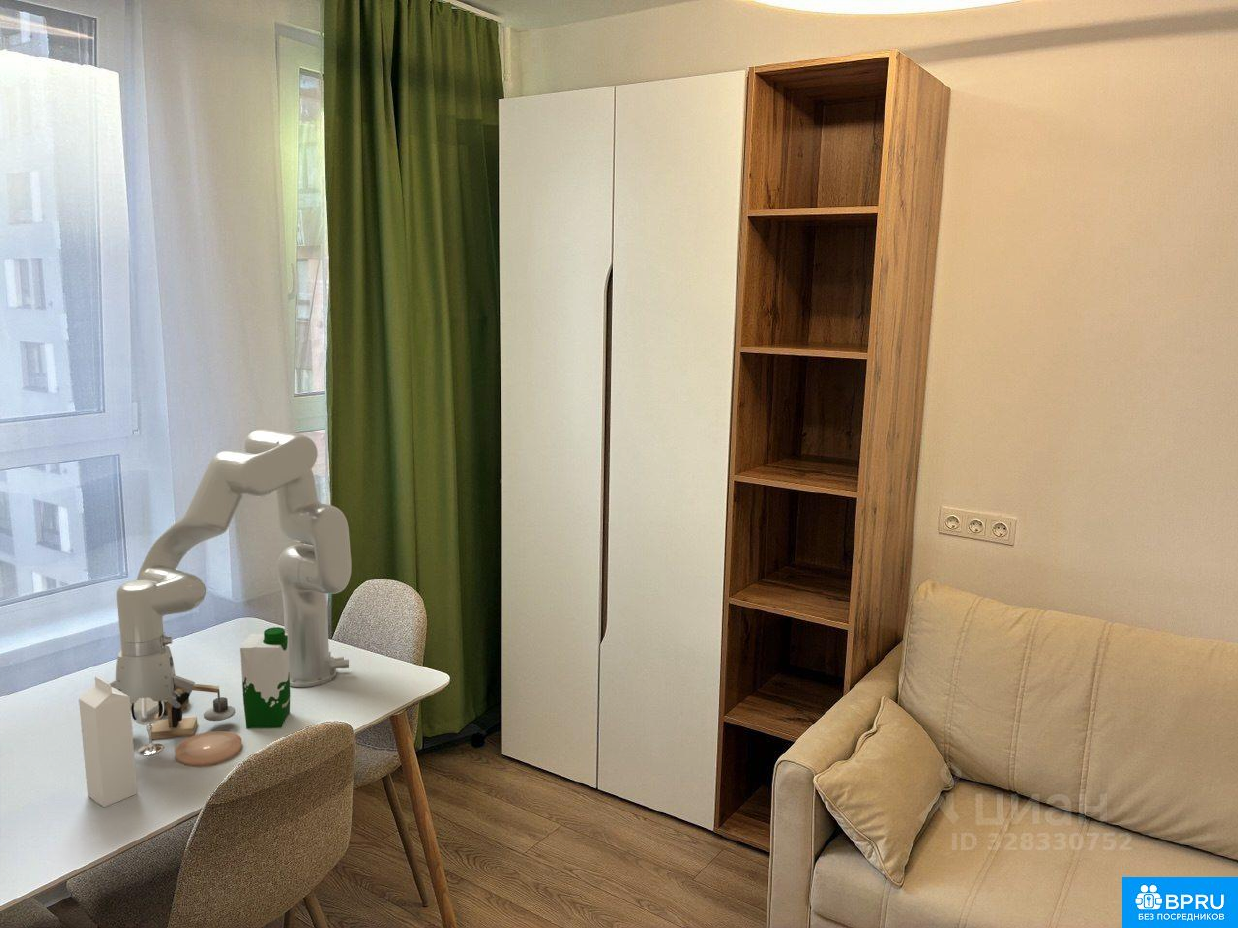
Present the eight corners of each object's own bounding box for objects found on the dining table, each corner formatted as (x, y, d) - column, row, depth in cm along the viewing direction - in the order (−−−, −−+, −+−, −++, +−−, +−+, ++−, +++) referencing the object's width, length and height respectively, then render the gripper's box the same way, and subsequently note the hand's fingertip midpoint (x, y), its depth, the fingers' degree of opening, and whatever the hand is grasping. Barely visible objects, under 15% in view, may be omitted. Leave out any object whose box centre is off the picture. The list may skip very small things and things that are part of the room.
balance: (237, 718, 197) (234, 663, 195) (234, 732, 192) (230, 675, 189) (114, 730, 191) (109, 672, 189) (106, 744, 185) (101, 685, 183)
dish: (245, 733, 191) (244, 727, 191) (238, 762, 180) (237, 756, 180) (181, 739, 188) (181, 733, 188) (170, 769, 177) (169, 763, 177)
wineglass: (173, 743, 186) (169, 687, 184) (156, 757, 181) (151, 700, 178) (145, 741, 187) (141, 685, 185) (128, 755, 181) (123, 698, 179)
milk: (121, 782, 172) (112, 670, 168) (138, 793, 169) (129, 679, 164) (86, 796, 167) (76, 681, 163) (103, 808, 164) (93, 690, 160)
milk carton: (284, 729, 193) (280, 638, 189) (239, 730, 192) (234, 639, 188) (295, 710, 202) (291, 622, 198) (252, 711, 201) (247, 623, 197)
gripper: (194, 633, 185) (200, 713, 189) (98, 640, 181) (105, 722, 184) (188, 648, 178) (194, 731, 182) (87, 655, 174) (95, 740, 177)
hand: (149, 726), depth 183 cm, fingers open, 9 cm apart
